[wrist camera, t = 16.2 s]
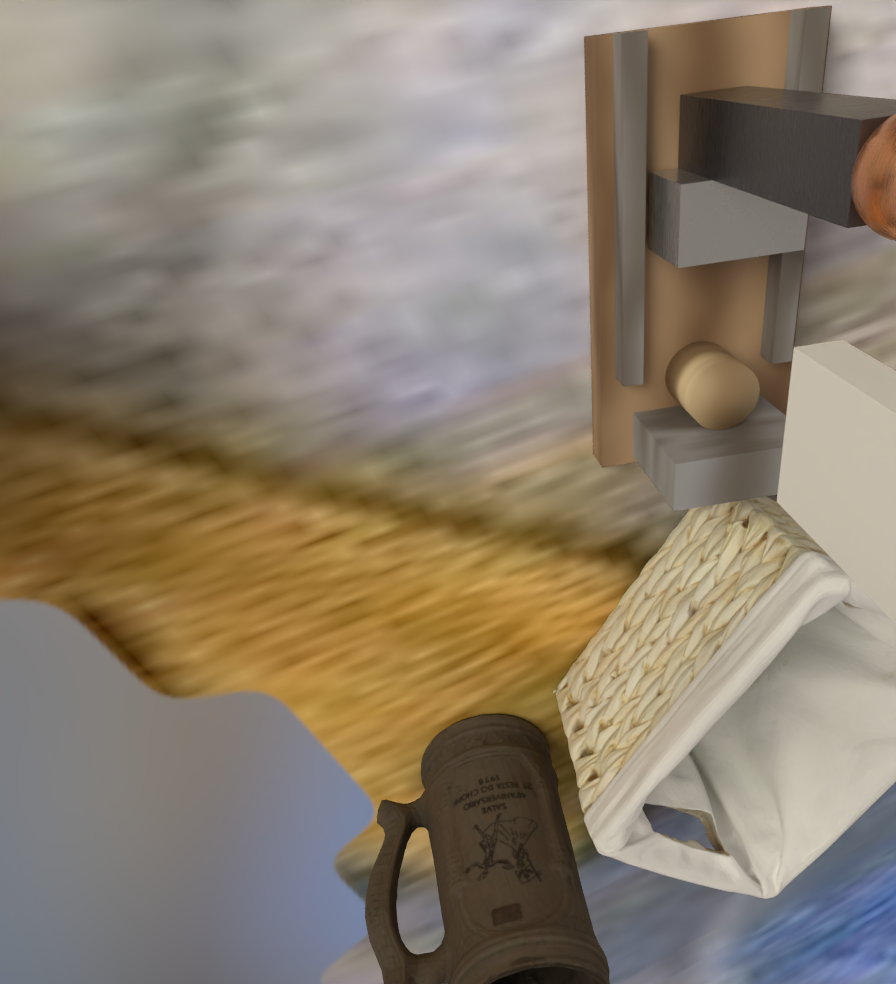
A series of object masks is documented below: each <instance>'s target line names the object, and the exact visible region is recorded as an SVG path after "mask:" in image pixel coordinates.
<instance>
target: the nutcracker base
mask: <svg viewBox="0 0 896 984" xmlns="http://www.w3.org/2000/svg"><path fill="white" fill-rule="evenodd" d="M831 10H832V6H821V7H809V8H802V9H794V10H786V11H779V12H771V13H763V14H755V15H748V16H740V17H732V18H725V19H717V20H709V21H701V22H694V23H686V24H678V25H670V26H663V27H655V28H647V29H640V30H632V31H624V32H616V33H609V34H601V35H593V36H585V37H584V48H585V94H586V140H587V186H588V232H589V278H590V324H591V370H592V416H593V454H594V455H595V457H596V459H597V460H598V462H599V463H600V465H601V466H602V467H609V466H615V465H621V464H627V463H634V462H638V464H639V465H640V466H641V468H642V469H643V470H644V472H645V473H646V475H647V476H648V477H649V479H650V480H651V481H652V483H653V484H654V486H655V487H656V488H657V490H658V491H659V492H660V494H661V495H662V496H663V498H664V499H665V501H666V502H667V503H668V505H669V506H670V507H671V509H672V510H673V511H679V510H685V509H692V508H698V507H704V506H710V505H716V504H722V503H728V502H735V501H741V500H747V499H753V498H759V497H765V496H771V495H777V494H778V485H779V476H780V467H781V458H782V449H783V440H784V431H785V422H786V413H787V404H788V395H789V386H790V377H791V368H792V359H793V350H794V341H795V332H796V323H797V314H798V305H799V296H800V287H801V278H802V269H803V260H804V251H805V246H804V250H799V251H792V252H785V253H779V254H772V255H765V256H758V257H751V258H744V259H738V260H731V261H724V262H717V263H710V264H703V265H697V266H690V267H683V268H677V267H675V266H674V265H672V264H671V263H669V262H668V261H666V260H664V259H663V258H661V257H660V256H658V255H657V254H655V253H654V252H652V251H651V250H649V249H648V227H649V172H654V171H661V170H668V169H675V168H678V148H679V117H680V95H681V94H688V93H696V92H703V91H711V90H718V89H726V88H733V87H741V86H756V87H767V88H777V89H788V90H798V91H809V92H820V93H822V90H823V81H824V72H825V63H826V54H827V45H828V36H829V27H830V18H831ZM808 216H809V214H808ZM807 225H808V219H807ZM806 234H807V228H806ZM805 242H806V237H805ZM698 341H709V342H713V343H716V344H717V345H719V346H720V347H722V348H723V349H724V350H725V351H727V352H728V353H729V354H731V355H732V356H733V357H735V358H736V359H737V360H738V361H740V362H741V363H742V364H744V365H745V366H746V367H747V368H749V369H750V370H751V371H752V372H753V373H754V374H755V375H756V377H757V379H758V382H759V388H760V391H759V398H758V401H757V404H756V406H755V408H754V409H753V411H752V412H751V413H750V415H749V416H748V417H747V418H746V419H745V420H743V421H742V422H741V423H739V424H738V425H736V426H734V427H731V428H728V429H724V430H711V429H707V428H705V427H703V426H701V425H700V424H699V423H698V422H697V421H696V420H695V419H694V418H693V417H692V416H691V415H690V414H689V413H688V412H687V411H686V410H685V409H684V408H683V407H682V406H681V405H680V404H679V403H678V402H677V401H676V400H675V399H674V397H673V396H672V395H671V394H670V393H669V391H668V389H667V387H666V382H665V374H666V370H667V367H668V364H669V362H670V361H671V359H672V358H673V356H674V355H675V354H676V353H677V352H678V351H679V350H680V349H682V348H683V347H685V346H686V345H688V344H691V343H694V342H698Z"/></svg>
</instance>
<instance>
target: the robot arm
mask: <svg viewBox="0 0 896 984" xmlns="http://www.w3.org/2000/svg"><path fill="white" fill-rule="evenodd" d="M777 503H778V504H779V505H780V506H781V507H782V508H783V509H784V510H785V511H786V512H787V513H788V514H789V515H790V516H791V517H792V518H793V519H794V520H795V521H796V522H797V523H798V524H799V525H800V526H801V527H802V528H803V529H804V530H805V531H806V532H807V533H808V534H809V536H810V537H811V538H812V539H813V540H814V541H815V542H816V543H817V544H818V545H819V546H820V547H821V548H822V549H823V550H824V551H825V552H826V553H827V554H828V555H829V556H830V557H831V558H832V559H833V560H834V561H835V562H836V563H837V564H838V565H839V566H840V567H841V568H842V569H843V570H844V572H845V573H846V574H847V575H848V576H849V577H850V578H851V579H852V580H853V581H854V582H855V583H856V584H857V585H858V586H859V587H860V588H861V589H862V590H863V591H864V592H865V593H866V594H867V595H868V596H869V597H870V598H871V599H872V600H873V601H874V602H875V603H876V604H877V605H878V606H879V608H880V609H881V610H882V611H883V612H884V613H885V614H886V615H887V616H888V617H889V618H890V619H891V620H892V621H893V622H894V623H895V624H896V371H895V370H893V369H892V368H890V367H888V366H886V365H885V364H883V363H881V362H880V361H878V360H876V359H874V358H873V357H871V356H869V355H867V354H866V353H864V352H862V351H861V350H859V349H857V348H855V347H854V346H852V345H850V344H848V343H847V342H845V341H843V340H838V341H831V342H825V343H818V344H812V345H805V346H799V347H794V350H793V359H792V368H791V377H790V386H789V395H788V404H787V413H786V422H785V431H784V440H783V449H782V458H781V467H780V476H779V485H778V494H777Z"/></svg>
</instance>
